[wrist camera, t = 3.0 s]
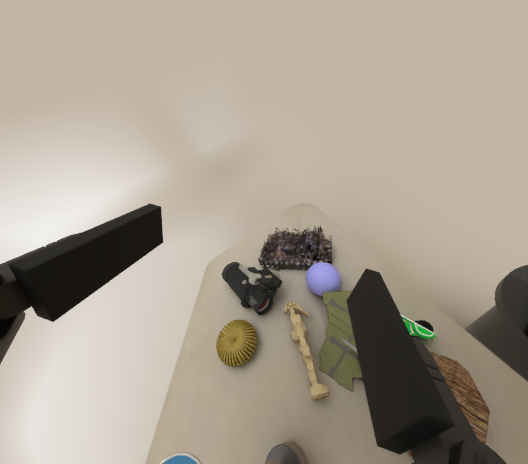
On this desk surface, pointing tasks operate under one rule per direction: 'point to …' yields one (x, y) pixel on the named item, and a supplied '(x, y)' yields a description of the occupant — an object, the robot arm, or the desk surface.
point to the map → (339, 341)
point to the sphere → (323, 278)
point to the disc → (180, 459)
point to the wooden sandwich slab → (460, 393)
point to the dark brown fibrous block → (296, 250)
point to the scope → (252, 286)
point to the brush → (286, 454)
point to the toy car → (419, 328)
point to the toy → (304, 348)
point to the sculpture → (236, 343)
